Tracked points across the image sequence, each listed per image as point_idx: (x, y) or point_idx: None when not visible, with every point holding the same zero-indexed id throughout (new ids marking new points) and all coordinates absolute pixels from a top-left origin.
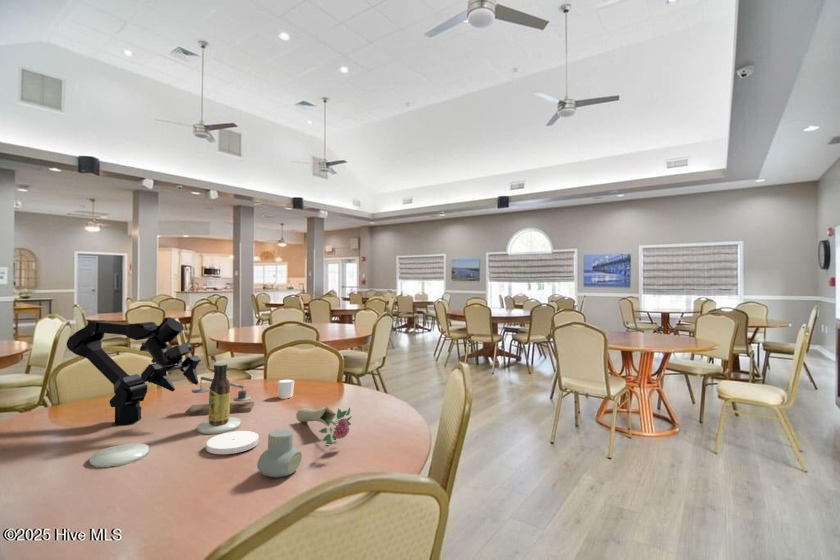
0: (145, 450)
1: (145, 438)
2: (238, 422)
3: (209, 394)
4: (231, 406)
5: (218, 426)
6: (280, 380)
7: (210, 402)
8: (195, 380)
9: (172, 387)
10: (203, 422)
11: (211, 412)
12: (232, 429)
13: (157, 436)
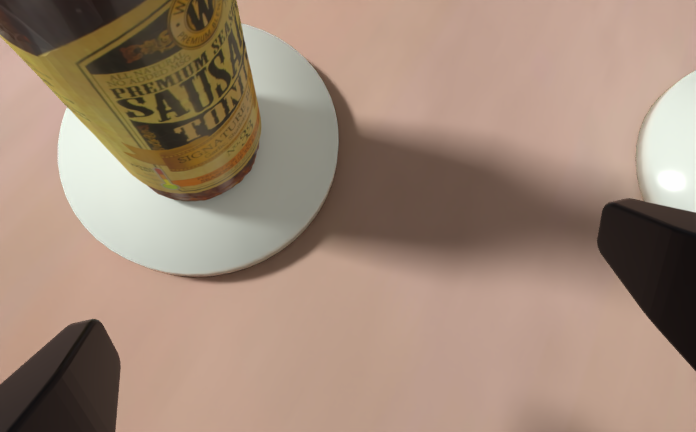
0: (680, 93)
1: (582, 355)
2: None
3: (214, 15)
4: None
5: None
6: None
7: (240, 43)
8: (75, 383)
9: (670, 209)
10: (241, 249)
11: (253, 82)
12: None
13: (520, 325)
